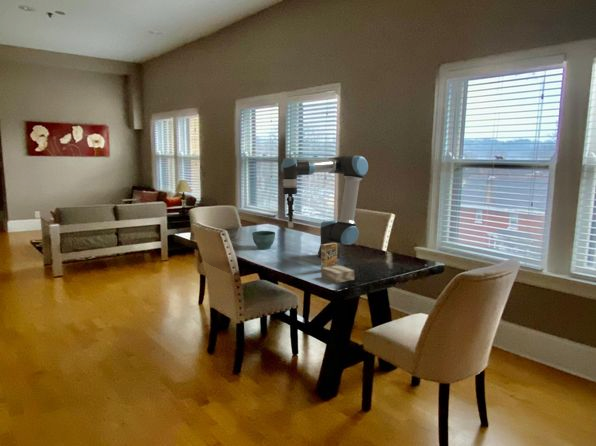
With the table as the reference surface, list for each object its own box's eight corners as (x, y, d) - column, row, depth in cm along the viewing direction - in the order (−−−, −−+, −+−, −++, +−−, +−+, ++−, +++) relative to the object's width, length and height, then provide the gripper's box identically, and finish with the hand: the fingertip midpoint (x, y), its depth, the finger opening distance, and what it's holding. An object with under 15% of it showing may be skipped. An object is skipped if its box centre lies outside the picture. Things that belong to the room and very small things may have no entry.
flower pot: (278, 249, 300) (278, 234, 298) (255, 251, 295) (255, 235, 293) (271, 245, 315) (271, 230, 313) (249, 246, 310) (249, 231, 308)
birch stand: (339, 273, 239) (339, 265, 238) (354, 279, 228) (354, 270, 227) (321, 277, 233) (321, 268, 232) (336, 283, 222) (336, 273, 221)
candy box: (325, 272, 242) (325, 245, 240) (320, 270, 246) (320, 243, 244) (337, 269, 248) (337, 243, 245) (332, 268, 251) (333, 242, 249)
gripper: (283, 185, 249) (284, 221, 253) (282, 188, 224) (283, 229, 228) (296, 184, 249) (297, 221, 253) (297, 188, 225) (297, 229, 228)
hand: (290, 225), depth 240 cm, fingers open, 13 cm apart
